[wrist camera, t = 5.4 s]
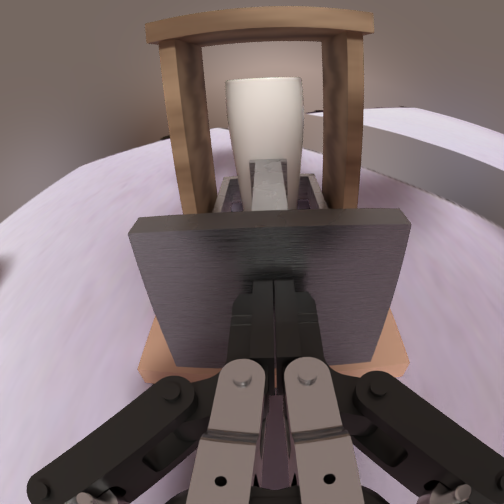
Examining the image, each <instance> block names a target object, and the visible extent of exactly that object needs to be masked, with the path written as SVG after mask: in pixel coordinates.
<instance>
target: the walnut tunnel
mask: <svg viewBox="0 0 504 504" xmlns="http://www.w3.org/2000/svg"><path fill="white" fill-rule="evenodd" d="M145 29H146V41H147V43H148V44H156V45H159V54H160V62H161V72H162V81H163V89H164V97H165V104H166V112H167V119H168V126H169V133H170V140H171V146H172V153H173V159H174V165H175V171H176V177H177V183H178V188H179V194H180V200H181V205H182V210H183V214H200V213H212V212H213V209H214V206H215V202H216V199H217V189H216V181H215V173H214V164H213V156H212V147H211V138H210V129H209V120H208V110H207V101H206V91H205V81H204V71H203V60H202V48H201V47H205V46H213V45H223V44H233V43H246V42H263V41H317V42H322V63H323V64H322V66H323V121H324V122H323V178H322V194H323V197H324V199H325V202H326V204H327V207H328V209H357V203H358V192H359V181H360V169H361V154H362V153H361V152H362V136H363V109H364V106H363V105H364V104H363V103H364V57H363V56H364V55H363V35H367V34H372V33H374V21H373V13H370V12H363V11H356V10H346V9H336V8H323V7H301V6H271V7H250V8H236V9H225V10H217V11H209V12H202V13H195V14H189V15H184V16H178V17H173V18H168V19H163V20H159V21H155V22H150V23H146V24H145Z"/></svg>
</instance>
